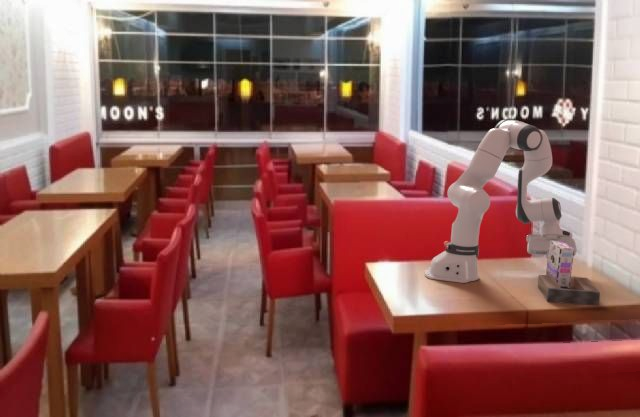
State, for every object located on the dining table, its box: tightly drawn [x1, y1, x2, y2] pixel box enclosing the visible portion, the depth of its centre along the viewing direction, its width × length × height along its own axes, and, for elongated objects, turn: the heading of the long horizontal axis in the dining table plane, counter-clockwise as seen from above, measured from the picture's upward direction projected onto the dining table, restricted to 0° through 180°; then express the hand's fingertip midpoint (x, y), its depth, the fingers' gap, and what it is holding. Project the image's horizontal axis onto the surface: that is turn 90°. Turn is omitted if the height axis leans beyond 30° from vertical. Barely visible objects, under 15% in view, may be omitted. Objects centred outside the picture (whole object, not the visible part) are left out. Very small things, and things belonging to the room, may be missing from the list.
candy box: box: [545, 241, 574, 289], centre depth 278 cm, size 14×6×16 cm, turn 179°
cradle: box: [537, 274, 601, 306], centre depth 263 cm, size 19×19×5 cm
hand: (552, 263), depth 289 cm, fingers closed
